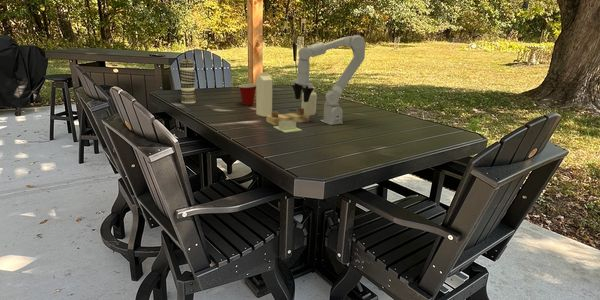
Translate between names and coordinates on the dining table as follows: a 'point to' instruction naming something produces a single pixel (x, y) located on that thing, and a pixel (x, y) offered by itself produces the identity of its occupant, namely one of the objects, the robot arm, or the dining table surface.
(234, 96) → the dining table surface
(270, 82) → the milk
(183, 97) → the decorative candle
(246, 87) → the plastic cup
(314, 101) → the pill bottle
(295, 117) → the plane body
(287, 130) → the rubber mat
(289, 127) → the lever cap
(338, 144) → the dining table surface
